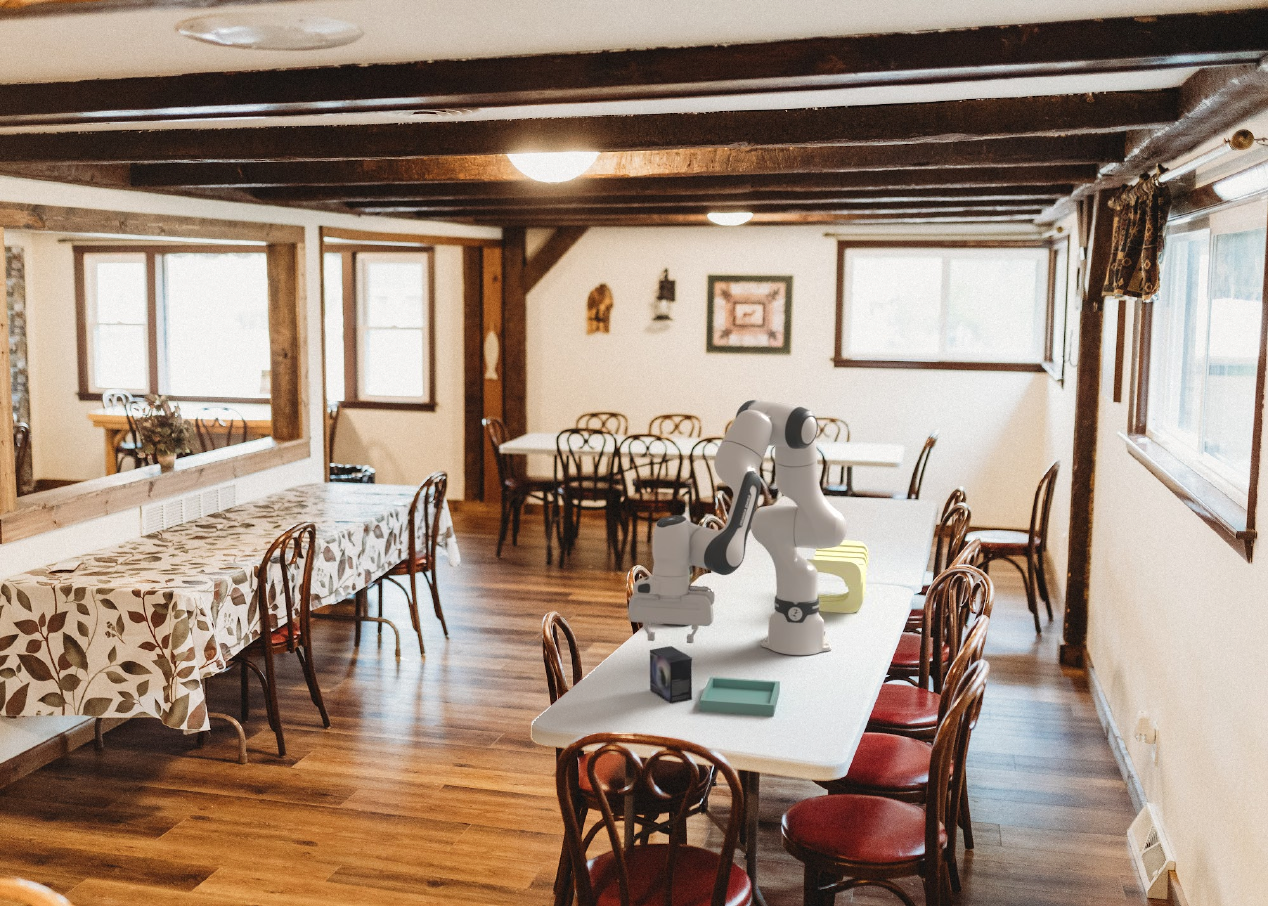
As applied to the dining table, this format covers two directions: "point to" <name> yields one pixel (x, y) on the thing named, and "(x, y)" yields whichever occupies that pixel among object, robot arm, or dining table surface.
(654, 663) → the small box
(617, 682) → the dining table surface
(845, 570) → the slatted curved stool
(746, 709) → the teal tray
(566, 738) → the dining table surface
